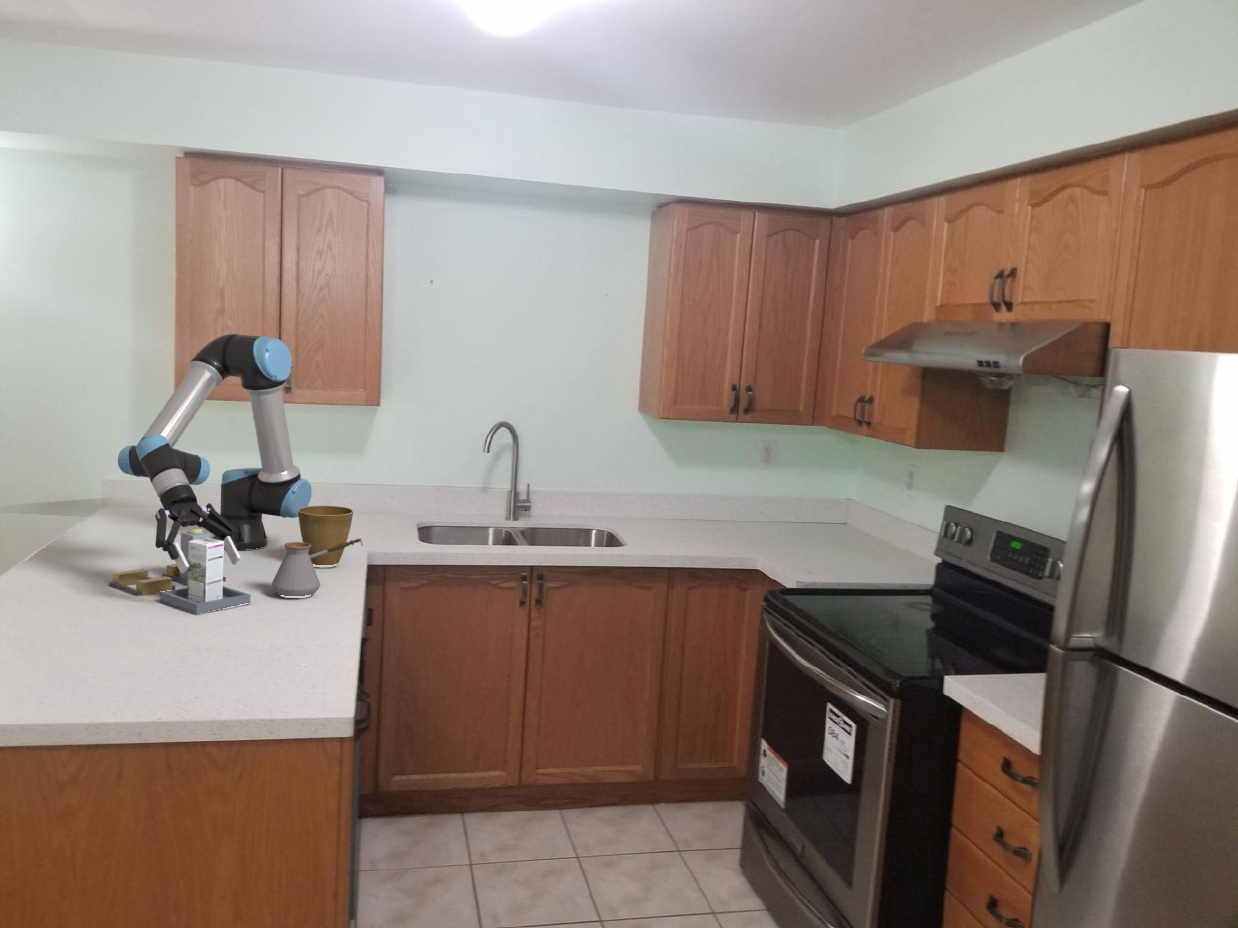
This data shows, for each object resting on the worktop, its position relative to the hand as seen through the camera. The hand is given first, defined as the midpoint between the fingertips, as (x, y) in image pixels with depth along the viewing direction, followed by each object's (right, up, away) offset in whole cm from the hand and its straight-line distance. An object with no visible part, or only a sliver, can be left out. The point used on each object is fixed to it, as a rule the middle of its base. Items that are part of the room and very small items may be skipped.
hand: (211, 565), depth 231 cm
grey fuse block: (-14, -6, +22) cm, 27 cm away
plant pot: (+12, -5, +48) cm, 50 cm away
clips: (-14, -6, +22) cm, 27 cm away
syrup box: (-2, -9, +2) cm, 9 cm away
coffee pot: (+19, -9, +16) cm, 27 cm away
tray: (-2, -9, +2) cm, 9 cm away
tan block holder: (-21, -6, +11) cm, 25 cm away
